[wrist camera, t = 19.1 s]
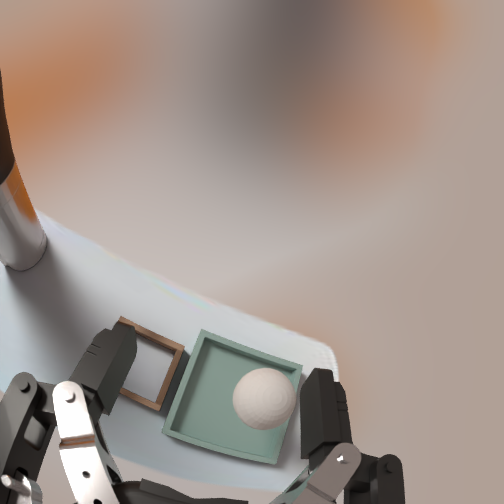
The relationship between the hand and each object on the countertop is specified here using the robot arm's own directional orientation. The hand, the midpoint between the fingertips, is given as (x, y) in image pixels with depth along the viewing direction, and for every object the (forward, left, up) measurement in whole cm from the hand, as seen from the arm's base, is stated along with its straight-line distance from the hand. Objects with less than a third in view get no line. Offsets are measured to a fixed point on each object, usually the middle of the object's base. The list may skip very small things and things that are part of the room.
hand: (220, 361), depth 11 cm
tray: (+6, -3, -26) cm, 27 cm away
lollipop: (+6, -3, -25) cm, 26 cm away
